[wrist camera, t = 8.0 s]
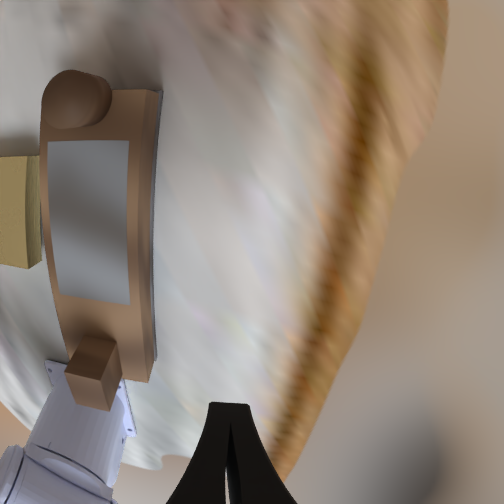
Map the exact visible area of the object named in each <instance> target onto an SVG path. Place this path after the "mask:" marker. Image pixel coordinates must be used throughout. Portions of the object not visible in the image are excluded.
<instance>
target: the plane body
mask: <svg viewBox="0 0 504 504" xmlns="http://www.w3.org/2000/svg"><path fill="white" fill-rule="evenodd" d="M162 98H163V91H162V90H147V89H123V90H111V88H110V85H109V84H108V82H107V81H106V80H105V79H103V78H101V77H99V76H95V75H92V74H88V73H84V72H81V71H77V70H66V71H63V72H61V73H59V74H57V75H56V76H55V77H53V78H52V80H51V81H50V82H49V83H48V85H47V86H46V88H45V90H44V93H43V97H42V104H41V106H42V109H41V122H40V146H39V176H40V200H41V214H42V226H43V235H44V243H45V251H46V258H47V265H48V271H49V277H50V282H51V288H52V293H53V298H54V302H55V307H56V311H57V316H58V320H59V324H60V328H61V332H62V335H63V339H64V343H65V346H66V350H67V353H68V356H69V360H70V361H69V363H68V365H67V367H66V369H65V371H64V374H65V377H66V380H67V382H68V385H69V388H70V390H71V393H72V395H73V398H74V400H75V403H76V404H79V405H82V406H86V407H90V408H94V409H98V410H103V411H107V412H110V410H111V407H112V404H113V401H114V398H115V395H116V392H117V389H118V386H119V383H120V381H121V378H122V379H127V380H133V381H139V382H145V383H148V381H149V378H150V374H151V370H152V367H153V363H154V361H156V359H157V349H156V334H155V315H154V287H153V221H154V193H155V174H156V159H157V146H158V135H159V124H160V115H161V106H162Z"/></svg>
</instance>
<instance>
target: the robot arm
mask: <svg viewBox="0 0 504 504" xmlns="http://www.w3.org/2000/svg"><path fill="white" fill-rule="evenodd" d="M44 365H45V368H46V370H47V373H48V375H49V378H50V380H51V383H52V385H53V388H52V390H51V392H50V394H49V396H48V398H47V400H46V402H45V404H44V406H43V408H42V410H41V412H40V415H39V417H38V419H37V421H36V423H35V425H34V427H33V430H32V432H31V434H30V436H29V439H28V441H27V443H26V445H25V447H24V448H22V447H20V446H19V445H14V446H8V447H7V449H6V450H5V452H4V453H3V455H2V457H1V459H0V504H118V503H117V502H116V501H115V500H114V499H112V493H113V489H112V488H111V487H112V486H113V484H114V483H115V481H116V479H117V476H118V471H119V467H120V462H121V458H122V454H123V450H124V445H125V441H126V437H127V436H129V437H136V434H137V433H136V429H135V425H134V422H133V418H132V414H131V410H130V406H129V402H128V397H127V393H126V388H125V384H124V380H123V379H122V378H121V381H120V383H119V386H118V389H117V392H116V395H115V398H114V401H113V404H112V407H111V410H110V412H107V411H103V410H98V409H94V408H90V407H86V406H82V405H79V404H76V403H75V400H74V398H73V395H72V393H71V390H70V388H69V385H68V382H67V380H66V377H65V374H64V371H65V369H66V367H67V365H65V364H61V363H57V362H54V361H50V360H46V361H45V363H44ZM226 471H227V480H228V489H229V499H230V504H297V503H296V501H295V500H294V499H293V497H292V496H291V494H290V493H289V491H288V490H287V489H286V487H285V485H284V484H283V482H282V481H281V479H280V477H279V476H278V474H277V472H276V470H275V469H274V467H273V465H272V463H271V461H270V459H269V457H268V455H267V453H266V451H265V449H264V447H263V444H262V442H261V440H260V437H259V435H258V432H257V430H256V427H255V424H254V421H253V418H252V414H251V410H250V406H249V405H248V404H240V403H223V402H211V403H209V408H208V414H207V418H206V422H205V426H204V429H203V432H202V435H201V437H200V440H199V442H198V445H197V447H196V450H195V452H194V455H193V457H192V459H191V461H190V463H189V465H188V467H187V469H186V471H185V473H184V475H183V477H182V478H181V480H180V482H179V484H178V485H177V487H176V489H175V490H174V492H173V494H172V495H171V497H170V498H169V500H168V501H167V503H166V504H226V496H225V472H226Z"/></svg>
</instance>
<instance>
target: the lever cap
mask: <svg viewBox="0 0 504 504" xmlns="http://www.w3.org/2000/svg"><path fill="white" fill-rule="evenodd" d="M41 261H42V255H41V234H40V176H39V156H12V157H0V264H4V265H9V266H14V267H19V268H25V269H29V268H31V267H32V266H34V265H36V264H37V263H39V262H41Z"/></svg>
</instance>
